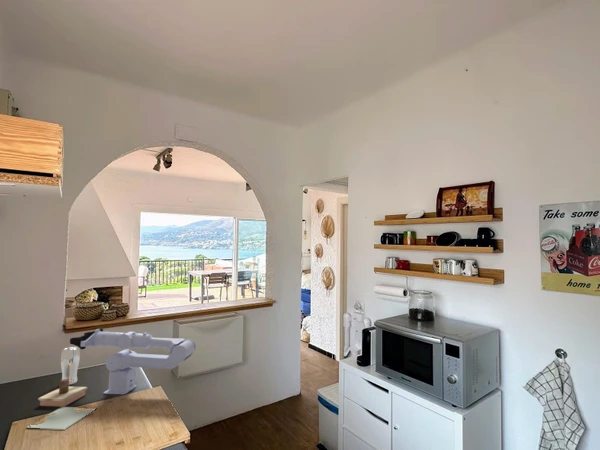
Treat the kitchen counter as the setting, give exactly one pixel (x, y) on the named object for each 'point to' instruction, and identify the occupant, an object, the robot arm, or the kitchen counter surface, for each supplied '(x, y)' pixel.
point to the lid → (63, 392)
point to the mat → (62, 419)
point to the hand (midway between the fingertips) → (77, 338)
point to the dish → (62, 403)
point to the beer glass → (70, 363)
